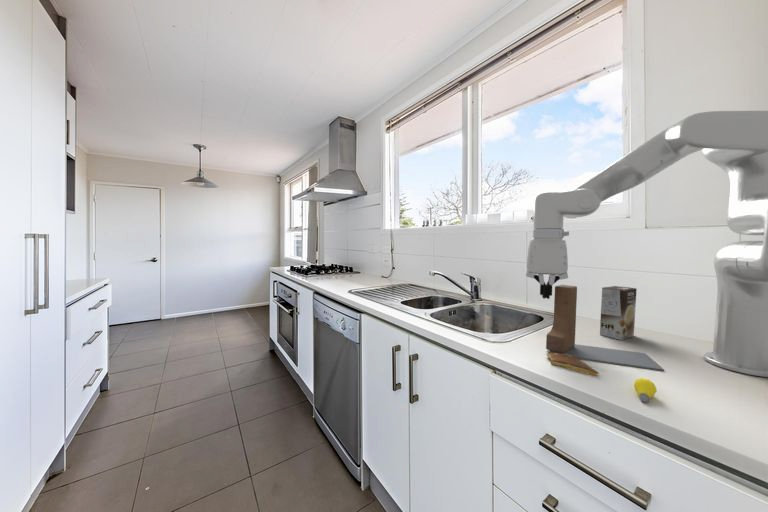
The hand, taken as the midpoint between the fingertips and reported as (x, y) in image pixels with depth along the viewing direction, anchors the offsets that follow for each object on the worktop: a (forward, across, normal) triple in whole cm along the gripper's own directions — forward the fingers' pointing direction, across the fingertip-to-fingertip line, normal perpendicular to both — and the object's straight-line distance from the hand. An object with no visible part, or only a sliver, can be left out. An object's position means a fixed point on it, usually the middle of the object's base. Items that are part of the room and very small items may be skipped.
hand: (545, 297), depth 84 cm
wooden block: (+15, -4, 0) cm, 15 cm away
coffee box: (+15, -23, -22) cm, 35 cm away
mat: (+15, -13, 0) cm, 20 cm away
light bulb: (+15, -16, +22) cm, 31 cm away
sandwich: (+16, -6, +10) cm, 19 cm away
